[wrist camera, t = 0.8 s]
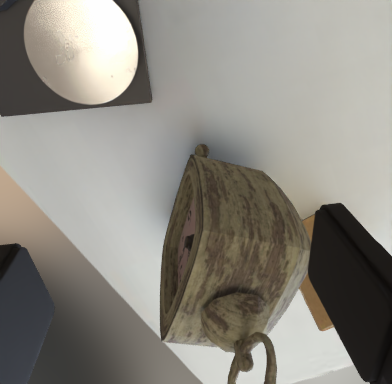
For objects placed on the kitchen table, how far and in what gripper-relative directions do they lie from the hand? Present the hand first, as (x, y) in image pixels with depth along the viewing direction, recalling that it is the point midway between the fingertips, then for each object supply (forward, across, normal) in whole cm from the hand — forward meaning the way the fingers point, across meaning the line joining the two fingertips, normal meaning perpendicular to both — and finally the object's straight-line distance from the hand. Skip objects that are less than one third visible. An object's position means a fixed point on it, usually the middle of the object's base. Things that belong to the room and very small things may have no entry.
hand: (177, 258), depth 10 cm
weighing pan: (+22, +7, -5) cm, 24 cm away
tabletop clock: (+25, -3, +13) cm, 29 cm away
